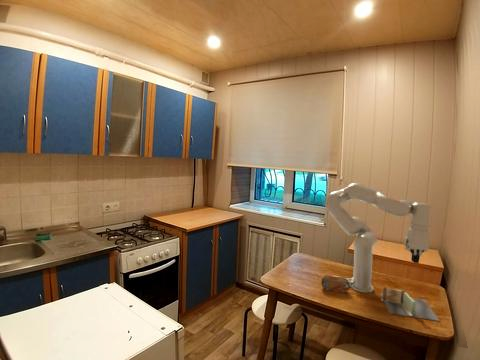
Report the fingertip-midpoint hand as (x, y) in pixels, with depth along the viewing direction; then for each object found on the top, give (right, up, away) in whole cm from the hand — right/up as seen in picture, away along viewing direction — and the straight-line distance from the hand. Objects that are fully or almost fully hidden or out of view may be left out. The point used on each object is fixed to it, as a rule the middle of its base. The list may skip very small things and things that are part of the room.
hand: (414, 261), depth 137 cm
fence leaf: (-6, -22, -4) cm, 23 cm away
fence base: (-5, -22, -1) cm, 23 cm away
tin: (-36, -21, +15) cm, 44 cm away
